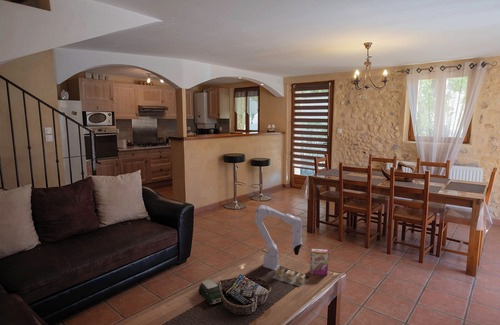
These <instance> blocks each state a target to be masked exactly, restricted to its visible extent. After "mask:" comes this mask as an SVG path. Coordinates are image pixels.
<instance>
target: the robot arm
mask: <svg viewBox="0 0 500 325" xmlns="http://www.w3.org/2000/svg"><path fill="white" fill-rule="evenodd" d="M270 216H273V217H276V218H279V219H282V221H283V222H284V223H287V224H289V225H291V226H293V229H292V242H291V249H292V250H293V252H294V253H293V254H294V255H295V256H298V255H299V254H300V250H301V248H302V246H303V244H304V243H303V238H302V235H303V230H302V228H303V226H304V224H303V221H302V219H301V218H300V217H299V216H295V215H294V216H293V215H292V214H291V213H282V212H281V211H278V210H277V209H274V208H273V207H270V206H268V205H265V204H259V205H258V207H257V208H256V212H255V218H254V222H255V224H256V226H257V228H258V230H259V233H260V234H261V236H262V239H263V241H264V242H265V245H266V249H268V252H265V253H264V256H263V268H265V269H271V270H274V271H276V269H277V268H278V267H280V266H281V265H280V264H279V251H278V244H276V243H275V242H274V240H273V239H272V237H271V234H270V233H269V231H268V229H267V227H266V225H265V223H264V219H265V218H266V217H270Z"/></svg>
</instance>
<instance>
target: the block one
mask: <svg viewBox="0 0 500 325" xmlns="http://www.w3.org/2000/svg"><path fill="white" fill-rule="evenodd" d="M285 273H286V269H285V268H284V267H280V266H279V267H278V268H277V269H276V270H275V274H276V277H279V278H283V277H284V275H285Z"/></svg>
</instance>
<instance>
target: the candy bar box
mask: <svg viewBox="0 0 500 325" xmlns="http://www.w3.org/2000/svg"><path fill="white" fill-rule="evenodd" d="M329 254H330V253H329V249H321V248H311V249H310V261H309V274H310V275H319V276H328V270H329V269H328V266H329Z"/></svg>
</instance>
